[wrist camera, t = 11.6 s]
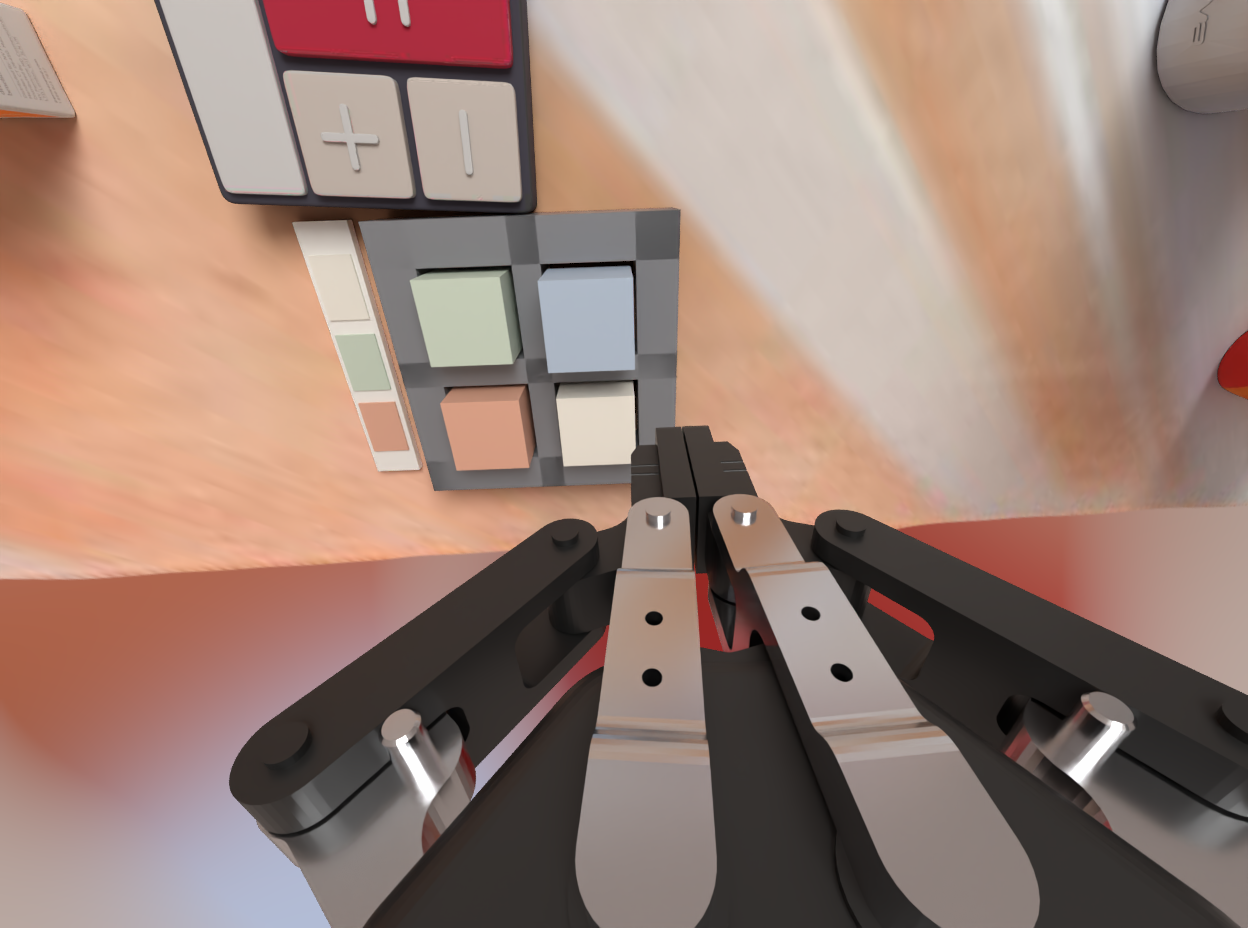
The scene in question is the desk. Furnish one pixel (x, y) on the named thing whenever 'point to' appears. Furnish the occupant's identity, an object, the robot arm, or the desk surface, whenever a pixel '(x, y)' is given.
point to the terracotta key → (490, 426)
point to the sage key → (468, 315)
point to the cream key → (596, 422)
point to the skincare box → (27, 72)
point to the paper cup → (1235, 368)
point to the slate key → (588, 318)
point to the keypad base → (531, 324)
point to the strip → (359, 339)
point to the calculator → (361, 101)
